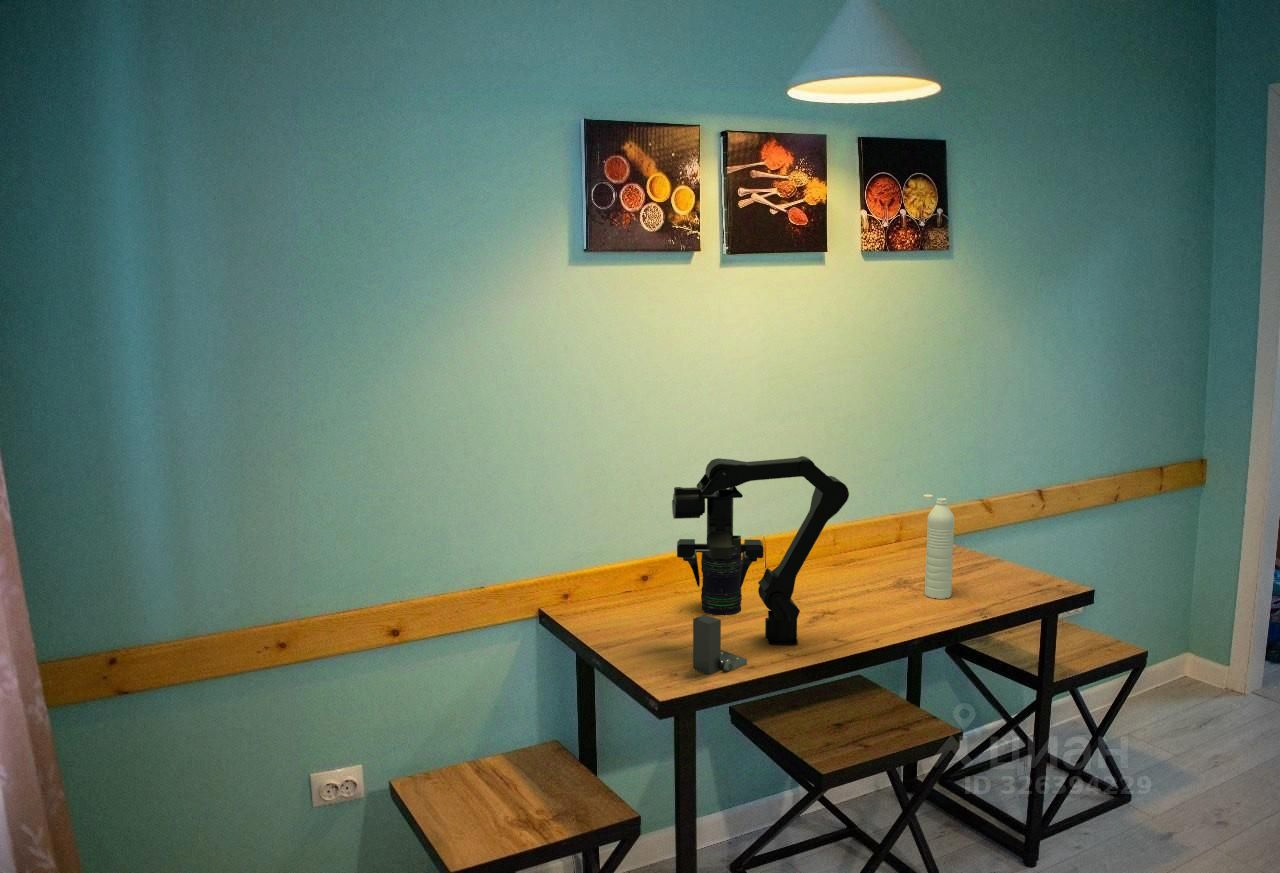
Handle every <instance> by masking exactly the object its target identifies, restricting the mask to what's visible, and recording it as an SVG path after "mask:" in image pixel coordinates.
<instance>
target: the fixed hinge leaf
mask: <svg viewBox="0 0 1280 873" xmlns="http://www.w3.org/2000/svg"><path fill="white" fill-rule="evenodd" d="M747 663H748V658H746V657H744V656H743V657H742V656H740V655H736V654H735V653H731V652H729V651H726V650H722V649H721V670H723V671H725V672H730V671H731V672H732V671H734V670H736V669H739V668H741V667H743V666H746V665H747ZM733 669H734V670H733Z"/></svg>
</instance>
